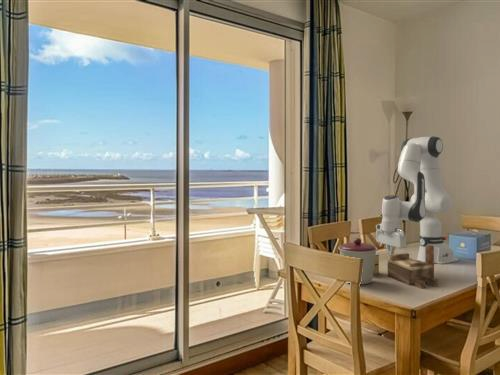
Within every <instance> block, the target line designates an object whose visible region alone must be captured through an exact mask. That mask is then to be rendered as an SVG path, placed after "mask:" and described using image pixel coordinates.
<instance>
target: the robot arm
mask: <svg viewBox="0 0 500 375" xmlns="http://www.w3.org/2000/svg"><path fill="white" fill-rule="evenodd" d="M400 148H401V151H400V152H401V153H400V154H399V159H398V164H397V173H398V175H399V176H400V177H401V178H402V179H404V180H406V181H408V182H410V183H412V184H413V187H414V190H413V192H414V193H413V195H412V196H411V198H410V201H405V200H400V198H399V196H398V195H395V194H393V195H392V194H390V195H386V196H383V199H382V203H381V215H382V219H381V223H378V224H376V225H375V228H376V231H375V238H376V239H375V240H376V242H377V243H380V244H383V245H385V248H386V250H387V254H389V255H395V250H396V249H399V250H400V249H401V250H402V249H406V247H407V238H406V234H405V232H404V230H403V229H401V220H402V221H411V222H414V223H419V229H420V230H419V237H418V239H419V240H418V241H419V248H418V249H419V250H418V254H417V258H416V261H420V262H425V246H426V245H432V246H434V264H440V265H443V264H450V263H454V262H457V261H459V258H457V257H456V256H454V255H455V254H454V250H453V248H452V247H450V246H449V245H447V244H446V243H445V242H446V241H448V237H447V236H442V222H441V221H440V219H438V218H437V215H436V214H435V213H438V214H441V213H449V212H450V211H451V210H452V208H453V206H454V201H453V199H452V197H451V195H449V194H448V193H447V192H446V189H445V187H444V185H443V183H442V172H441V171H442V170H441V168H442V167H441V158H440V155H441V153H442V152H443V148H444V144H443V141H442V139H441V138H440V137H438V136H419V137H413V138H406V139H404V141H403V142H402V143H401V147H400Z"/></svg>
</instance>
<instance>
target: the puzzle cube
mask: <svg viewBox="0 0 500 375" xmlns="http://www.w3.org/2000/svg"><path fill="white" fill-rule="evenodd" d="M379 263H380V254H378V253H376V257H375V266H374V273H373V276H376V275H377V274H379V273H380V267H379V266H380V264H379Z"/></svg>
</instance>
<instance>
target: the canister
mask: <svg viewBox="0 0 500 375" xmlns="http://www.w3.org/2000/svg"><path fill="white" fill-rule="evenodd" d="M337 249H338V250H339V256H340V255H344V256H349V257H355V258H361V259H363V272H362V281H361V285H362V286H363V285H368V284H370V283H371V282H372V281H373V278H374V275H373V273H374V266H375V257H376V254H377V251H378V247H377V246H375V245H373V244H371V243H365V242H362V239H361V238H359V237H356V238H354V239H353V242H346V243H343V244H341V245H339V246H338V248H337ZM361 285H360V286H361Z"/></svg>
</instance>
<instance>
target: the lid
mask: <svg viewBox="0 0 500 375" xmlns="http://www.w3.org/2000/svg"><path fill="white" fill-rule="evenodd" d="M389 256H390V257H389V259H387V263H388V262H389V263H392V264H395V265H398V266H401V267H404V268H407V269H409V270H419V269H427V268H433V266H432V265H429V262H422V261H419V260H417V259H413V258H410V253H408V252H407V253H397V254H395V253H394V254H392V255H391V254H389Z"/></svg>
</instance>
